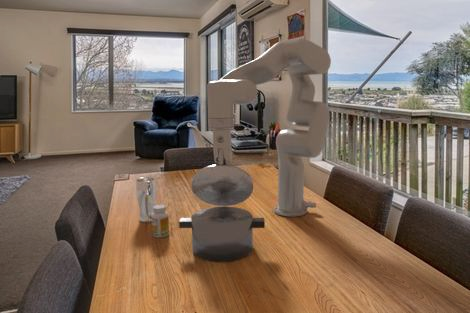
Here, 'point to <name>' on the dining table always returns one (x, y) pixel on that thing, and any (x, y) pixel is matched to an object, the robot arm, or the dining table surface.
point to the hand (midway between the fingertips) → (223, 183)
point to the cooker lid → (222, 185)
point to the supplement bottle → (160, 221)
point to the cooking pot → (222, 233)
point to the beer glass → (146, 197)
